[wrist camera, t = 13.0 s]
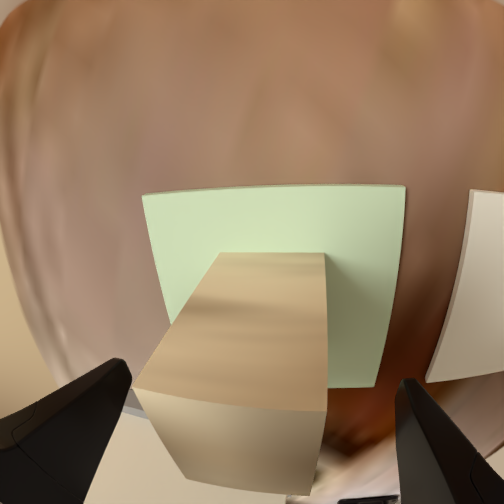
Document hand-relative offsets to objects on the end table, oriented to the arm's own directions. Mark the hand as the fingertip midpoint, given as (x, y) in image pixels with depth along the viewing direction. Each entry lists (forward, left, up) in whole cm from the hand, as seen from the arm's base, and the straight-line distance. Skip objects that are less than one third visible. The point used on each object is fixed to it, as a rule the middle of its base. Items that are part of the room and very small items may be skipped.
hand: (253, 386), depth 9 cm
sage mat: (0, 0, -5) cm, 5 cm away
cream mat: (0, -13, -5) cm, 14 cm away
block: (0, 0, -4) cm, 4 cm away
